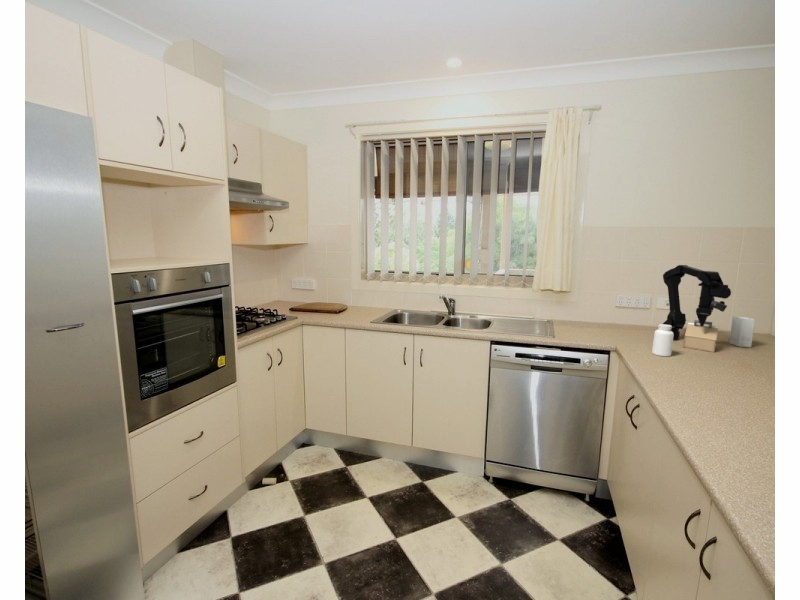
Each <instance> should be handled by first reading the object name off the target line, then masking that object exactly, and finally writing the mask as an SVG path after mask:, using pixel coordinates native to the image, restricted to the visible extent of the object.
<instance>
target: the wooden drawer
mask: <svg viewBox="0 0 800 600" xmlns="http://www.w3.org/2000/svg"><path fill="white" fill-rule="evenodd" d="M717 340H718V337H717V338H716V341H713V340H706V339H700V338H693V337H686V336H685V335H684V339H683V344H682V345H683V346H682V347H683V348H685V349H691V350H698V351H702V352H710V353H715V351H716V348H717Z"/></svg>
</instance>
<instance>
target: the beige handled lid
mask: <svg viewBox="0 0 800 600" xmlns="http://www.w3.org/2000/svg"><path fill="white" fill-rule="evenodd" d="M718 332H719V325H713V321H707V320H706V321H705V323H704V326H700V323H699V320H697V319H695V320H694V322H687V326H686V330H685V334H684V337H685V336H686V337H693V338H700V339H706V340H713V341H716V338H717V339H718ZM716 342H717V341H716Z"/></svg>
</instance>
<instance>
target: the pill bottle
mask: <svg viewBox="0 0 800 600" xmlns="http://www.w3.org/2000/svg"><path fill="white" fill-rule="evenodd" d="M657 328H658V329H656V330H655V331H654V335H653V343H652V349H651V352H652V354H653V355H654V356H660V357H671V356H672V350H673V343H674V340H673V337H674V333H673V332H672V331H670V330H671V329H672V326H671V325H666V324H663V323H659V324H658V327H657Z"/></svg>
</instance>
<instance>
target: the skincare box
mask: <svg viewBox="0 0 800 600" xmlns="http://www.w3.org/2000/svg"><path fill="white" fill-rule="evenodd" d="M755 320H756V319H754V318H751V317H747V316H736V315H735V316H732V318H731V327H730V333H729V340H728V341H729V344H731V345H734V346H737V347H743V348H752V344H753V343H752V342H753V336H754V335H753V334H754V329H755V322H756V321H755Z"/></svg>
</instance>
